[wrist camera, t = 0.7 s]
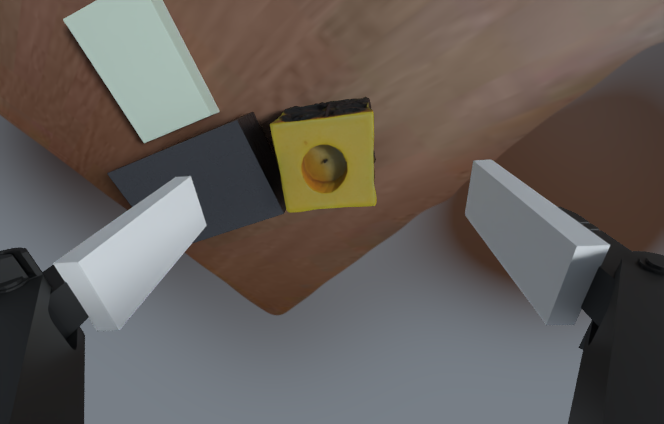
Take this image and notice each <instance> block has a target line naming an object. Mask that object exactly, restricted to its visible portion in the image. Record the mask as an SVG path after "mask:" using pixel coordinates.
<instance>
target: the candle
mask: <svg viewBox="0 0 664 424" xmlns="http://www.w3.org/2000/svg"><path fill="white" fill-rule="evenodd" d="M270 128H271V134H272V139H273V144H274V149H275V153H276V156H277V161H278V165H279V170H280V175H281V182H282V189H283V194H284V199H285V205H286V210H287V211H288V212H302V211H309V210H314V209H325V208H341V207H363V206H375V205H376V202H377V199H376V192H375V187H374V179H375V171H374V162H375V160H376V159H375V153H374V150H373V148H374V114H373V110H371V104H370V100H369V98H367V97H365V98H363V99H350V100H349V99H346V100H341V101H330V102H327V103H323V102H322V103H320V104H315V105H309V106H304V107H298V106H294V107H291V108H289V109H285V111H284V112H283V113H282V115H281V116H280V117H278V119H277V120H275V121H274V122H272V123H271V124H270Z"/></svg>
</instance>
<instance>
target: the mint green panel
mask: <svg viewBox="0 0 664 424" xmlns="http://www.w3.org/2000/svg"><path fill="white" fill-rule="evenodd" d="M63 20H64V22H65V23H66V25H67V26H68V28H69V29H70V31H71V32H72V34H73V35H74V37H75V39H76V40H77V42H78V43H79V45H80V46H81V48H82V49H83V51H84V52H85V54H86V55H87V57H88V58H89V60H90V61H91V63H92V65H93V66H94V68H95V69H96V71H97V72H98V74H99V75H100V77H101V78H102V80H103V81H104V83H105V84H106V86H107V87H108V89H109V90H110V92H111V94H112V95H113V97H114V98H115V100H116V101H117V103H118V104H119V106H120V107H121V109H122V110H123V112H124V113H125V115H126V116H127V118H128V120H129V121H130V123H131V124H132V126H133V127H134V129H135V130H136V132H137V133H138V135H139V136H140V138H141V139H142V141H143V142H144V143H146V142H148V141H151V140H153V139H156V138H158V137H161V136H163V135H166V134H168V133H170V132H173V131H175V130H178V129H180V128H182V127H185V126H187V125H189V124H192V123H194V122H197V121H199V120H201V119H204V118H206V117H209V116H211V115H213V114H216V113H218V112H220V111H219V109H218V107H217V105H216V103H215V101H214V99H213V97H212V95H211V93H210V91H209V90H208V88H207V86H206V84H205V82H204V80H203V78H202V76H201V74H200V72H199V70H198V68H197V66H196V64H195V62H194V60H193V58H192V57H191V55H190V53H189V51H188V49H187V47H186V45H185V43H184V41H183V39H182V37H181V35H180V33H179V31H178V29H177V27H176V25H175V24H174V22H173V20H172V18H171V16H170V14H169V12H168V10H167V8H166V6H165V4H164V2H163V0H97V1H95V2H93V3H91V4H89V5H88V6H86V7H84V8H82V9H81V10H79V11H77V12H75V13H73V14H72V15H70V16H68V17H66V18H65V19H63Z"/></svg>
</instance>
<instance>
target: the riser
mask: <svg viewBox="0 0 664 424" xmlns="http://www.w3.org/2000/svg"><path fill="white" fill-rule="evenodd" d="M107 174H108V175H109V177H110V178H111V179H112V181H113V182H114V183H115V185H116V186H117V187H118V189H119V190H120V191H121V193H122V194H123V195H124V197H125V198H126V199H127V201H128V202H129V203H130V205H131V206H132V207H133V206H135V205H136V204H138V203H139V202H141V201H142V200H143V199H145V198H146V197H148V196H149V195H151V194H152V193H153V192H155V191H156V190H158V189H159V188H161V187H162V186H163V185H165V184H166V183H168V182H169V181H171V180H172V179H173V178H175V177H184V176H191V178H192V181H193V184H194V187H195V191H196V194H197V197H198V200H199V203H200V206H201V209H202V212H203V216H204V219H205V222H206V225H207V226H206V227H205V228H204V229H203V230H202V232H201V233H200V234H199V235H198V236H197V238H196V239H195V240H194V241H193V242H192V243H194V242H198V241H201V240H204V239H207V238H210V237H213V236H216V235H219V234H222V233H225V232H228V231H232V230H235V229H238V228H241V227H244V226H247V225H250V224H253V223H256V222H259V221H262V220H265V219H269V218H272V217H275V216H278V215H281V214H284V212H285V210H286V205H285V199H284V194H283V189H282V182H281V175H280V170H279V165H278V163H277V161H276V159H275V157H274V155H273V152H272V150H271V148H270V146H269V144H268V142H267V140H266V138H265V136H264V133H263V131H262V129H261V127H260V125H259V123H258V121H257V119H256V116H255V114H254V112H251V113H249V114H246V115H244V116H242V117H240V118H238V119H236V120H234V121H232V122H230V123H227V124H225V125H222V126H220V127H218V128H215V129H213V130H210V131H208V132H206V133H203V134H201V135H198V136H196V137H193V138H191V139H189V140H186V141H184V142H181V143H179V144H176V145H174V146H172V147H169V148H167V149H164V150H162V151H159V152H157V153H155V154H152V155H150V156H147V157H145V158H143V159H140V160H138V161H135V162H133V163H130V164H128V165H126V166H123V167H121V168H118V169H116V170H114V171H111V172H109V173H107Z"/></svg>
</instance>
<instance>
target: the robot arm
mask: <svg viewBox="0 0 664 424" xmlns="http://www.w3.org/2000/svg"><path fill="white" fill-rule="evenodd" d="M465 216H466V217H467V218H468V220H469V221H470V222H471V224H472V225H473V227H474V228H475V229H476V230H477V232H478V233H479V235H480V236H481V237H482V239H483V240H484V241H485V243H486V244H487V245H488V247H489V248H490V249H491V251H492V252H493V253H494V255H495V256H496V257H497V259H498V260H499V262H500V263H501V264H502V266H503V267H504V268H505V270H506V271H507V272H508V274H509V275H510V277H511V278H512V279H513V281H514V282H515V283H516V285H517V286H518V287H519V289H520V290H521V291H522V293H523V294H524V295H525V297H526V298H527V299H528V301H529V302H530V303H531V305H532V306H533V308H534V309H535V310H536V312H537V313H538V314H539V316H540V317H541V318H542V319H543V321H544V322H545V324H546V325H574V324H575V322H576V320H577V318H578V316H579V314H580V311H581V309H583V310H584V311H585V313H586V314H587V315H588V316H589V317H590V318H591V319H592V321H591V323H590V325H589V327H588V329H587V331H586V334H585V336H584V338H583V340H582V342H581V344H580V346H579V348H580V349H583V354H582V359H581V363H580V368H579V373H578V378H577V383H576V388H575V392H574V398H573V402H572V407H571V411H570V417H569V421H568V424H664V256H663V255H660V254H655V253H650V252H640V251H633V252H632V251H631V250H629V249H628V248H626V247H625V246H623V245H622V244H620V243H619V242H617V241H616V240H614V239H613V238H611V237H610V236H608V235H607V234H606V233H604V232H603V231H599V229H598V228H597V227H596V226H594V225H593V224H589V222H588V221H587V220H585V219H584V218H582V217H581V216H579V215H578V214H576V213H574V212H572V211H569V210H567V209H564V208H562V207H557V206H555V205H554V204H552V203H551V202H550V201H548V200H547V199H545V198H544V197H543V196H541V195H540V194H539V193H537V192H536V191H534V190H533V189H532V188H530V187H529V186H527V185H526V184H525V183H523V182H522V181H520V180H519V179H517V178H516V177H515V176H513V175H512V174H511V173H509V172H507V171H506V170H505V169H503V168H502V167H501V166H499V165H498V164H497V163H495V162H494V161H493V160H475V161H473V167H472V173H471V179H470V185H469V192H468V198H467V205H466V211H465ZM206 226H207V225H206V222H205V219H204V216H203V212H202V209H201V206H200V203H199V200H198V197H197V194H196V191H195V187H194V184H193V181H192V178H191V176H184V177H175V178H173V179H172V180H171V181H169V182H168V183H166V184H165V185H163V186H162V187H161V188H159V189H158V190H156V191H155V192H153V193H152V194H151V195H149V196H148V197H146V198H145V199H143V200H142V201H141V202H139V203H138V204H136V205H135V206H133V207H132V208H131V209H129V210H128V211H126V212H125V213H124V214H122V215H121V216H119V217H118V218H116V219H115V220H114V221H112V222H111V223H109V224H108V225H106V226H105V227H103V228H102V229H101V230H99V231H98V232H97V233H95V234H94V235H92V236H91V237H89V238H88V239H86V240H85V241H84V242H82V243H81V244H79V245H78V246H76V247H75V248H74V249H72V250H71V251H69V252H68V253H66V254H65V255H64V256H62V257H61V258H59V259H58V260H56V261H55V262H54V263H53V264H54V265H52V266H51V267H50V268H48V269H47V270H45V271H44V272H42V271H41V270H40V268H39V267H38V265H37V264H36V262H35V261H34V259H33V258H32V257H31V255H30V254H29V252H28V251H27V249H25V248H12V249H7V250H3V251H0V424H84V366H85V362H84V361H85V355H84V354H85V335H84V333H83V331H82V329H81V328H80V325H81V324H82V323H83V322H84V321H85V320H86V319H87V318H89V319H90V321H91V322H92V324H93V326H94V327H95V329H96V330H97V331H119V330H120V329H121V328H122V327H123V325H124V324H125V323H126V322H127V321H128V319H129V318H130V317H131V316H132V315H133V313H134V312H135V311H136V310H137V309H138V307H139V306H140V305H141V304H142V302H143V301H144V300H145V299H146V298H147V296H148V295H149V294H150V293H151V292H152V291H153V289H154V288H155V287H156V286H157V285H158V283H159V282H160V281H161V280H162V278H163V277H164V276H165V275H166V274H167V272H168V271H169V270H170V269H171V268H172V266H173V265H174V264H175V263H176V262H177V260H178V259H179V258H180V257H181V256H182V254H183V253H184V252H185V251H186V250H187V248H188V247H189V246H190V245H191V244H192V242H193V241H194V240H195V239H196V238H197V236H198V235H199V234H200V233H201V232H202V230H203V229H204V228H205V227H206Z"/></svg>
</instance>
